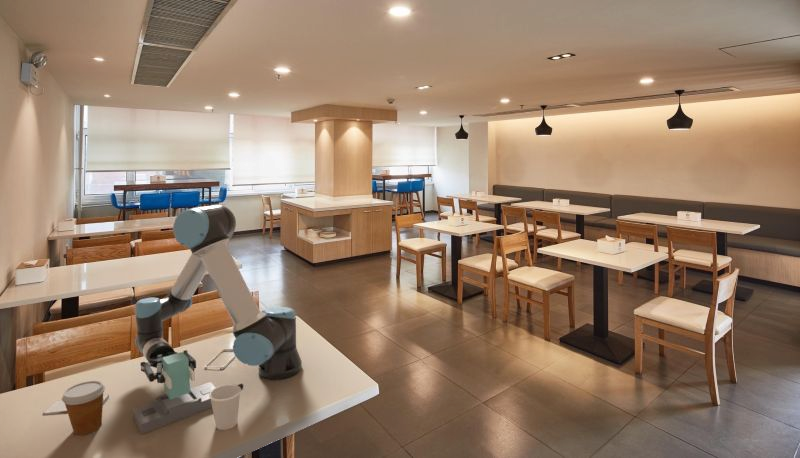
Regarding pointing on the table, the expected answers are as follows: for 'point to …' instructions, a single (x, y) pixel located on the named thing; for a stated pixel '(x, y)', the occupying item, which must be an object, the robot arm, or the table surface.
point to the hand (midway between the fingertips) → (181, 380)
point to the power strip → (173, 408)
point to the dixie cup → (225, 405)
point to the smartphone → (63, 407)
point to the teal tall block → (177, 374)
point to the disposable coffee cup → (85, 406)
